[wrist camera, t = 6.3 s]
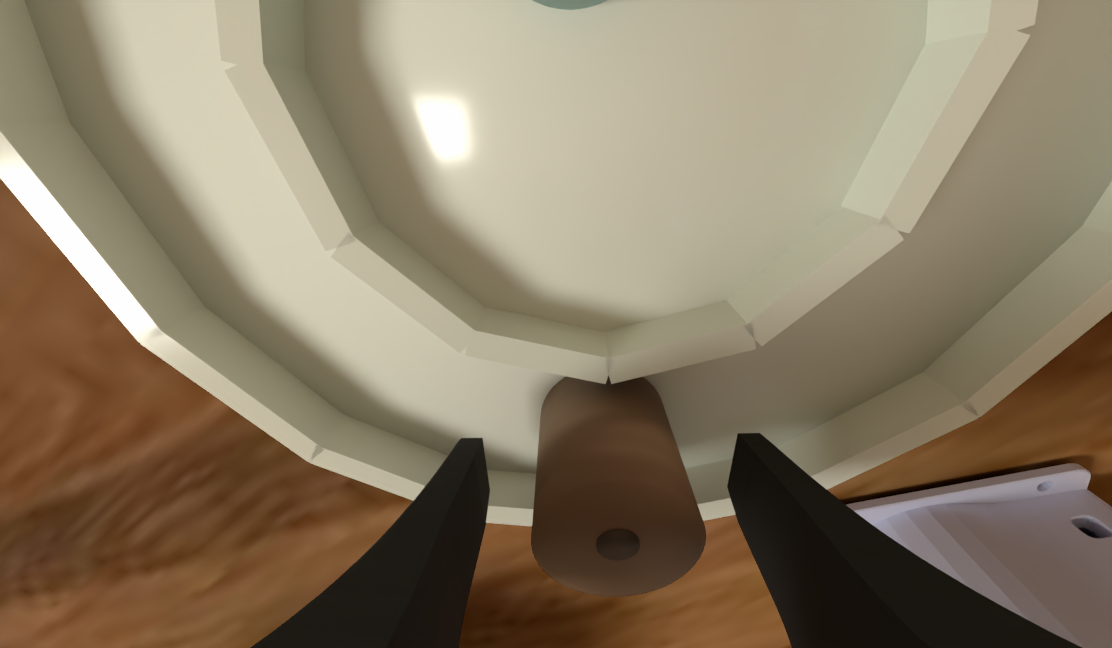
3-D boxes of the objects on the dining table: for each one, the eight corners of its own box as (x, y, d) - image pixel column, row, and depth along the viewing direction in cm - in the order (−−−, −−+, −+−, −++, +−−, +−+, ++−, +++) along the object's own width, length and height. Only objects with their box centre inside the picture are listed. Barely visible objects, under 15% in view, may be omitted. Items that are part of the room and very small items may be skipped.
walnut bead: (651, 352, 13) (692, 466, 9) (673, 450, 14) (716, 584, 10) (524, 382, 13) (506, 503, 9) (559, 473, 15) (558, 609, 11)
